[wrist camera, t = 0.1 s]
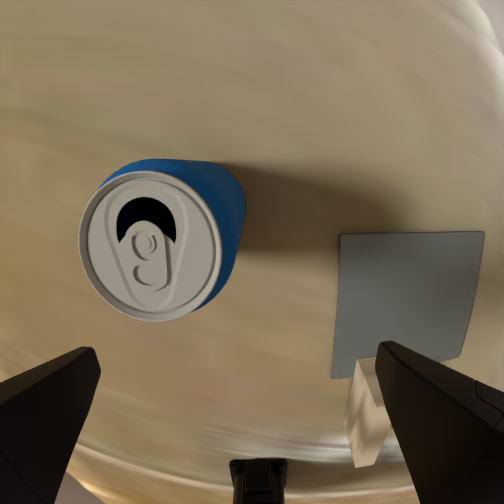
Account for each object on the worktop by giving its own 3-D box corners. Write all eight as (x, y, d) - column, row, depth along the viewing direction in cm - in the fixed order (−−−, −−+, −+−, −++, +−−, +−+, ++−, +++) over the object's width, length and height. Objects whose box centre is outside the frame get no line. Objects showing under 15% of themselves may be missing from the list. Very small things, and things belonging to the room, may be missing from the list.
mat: (456, 355, 26) (458, 357, 25) (330, 376, 26) (331, 379, 26) (481, 230, 22) (484, 232, 22) (339, 234, 23) (341, 235, 22)
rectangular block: (360, 421, 28) (373, 464, 22) (343, 423, 28) (355, 468, 22) (375, 356, 25) (398, 403, 19) (357, 359, 25) (376, 407, 19)
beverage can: (246, 160, 21) (235, 154, 10) (245, 250, 23) (235, 335, 11) (157, 162, 21) (63, 166, 10) (160, 249, 23) (83, 324, 12)
